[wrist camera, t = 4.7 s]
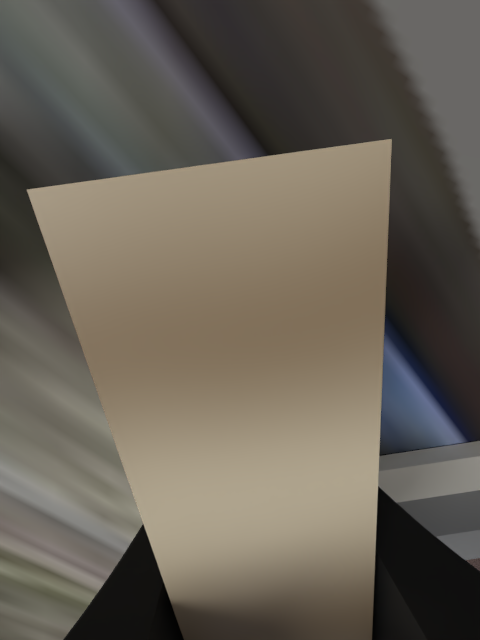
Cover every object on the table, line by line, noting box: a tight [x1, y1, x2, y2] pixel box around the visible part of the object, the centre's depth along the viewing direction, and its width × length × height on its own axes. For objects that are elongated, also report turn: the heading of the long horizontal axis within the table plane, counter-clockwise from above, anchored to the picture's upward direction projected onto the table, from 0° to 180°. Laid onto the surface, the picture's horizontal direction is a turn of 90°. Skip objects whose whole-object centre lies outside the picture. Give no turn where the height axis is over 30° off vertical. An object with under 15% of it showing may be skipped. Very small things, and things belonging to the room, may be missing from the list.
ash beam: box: [27, 139, 392, 640], centre depth 8 cm, size 16×4×6 cm, turn 8°
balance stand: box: [378, 441, 480, 560], centre depth 15 cm, size 8×10×3 cm
